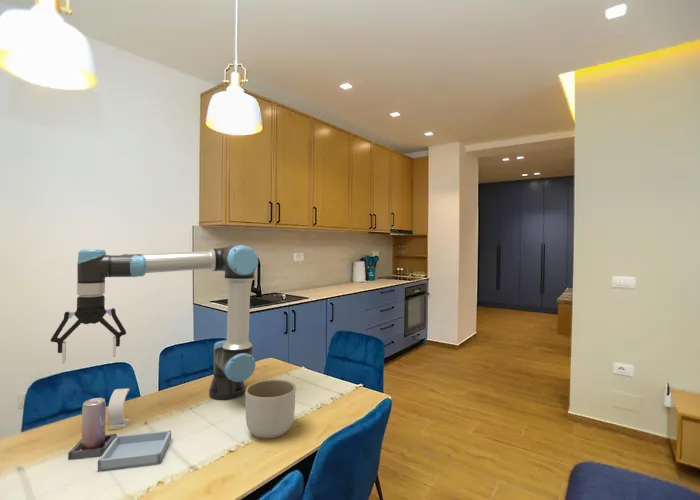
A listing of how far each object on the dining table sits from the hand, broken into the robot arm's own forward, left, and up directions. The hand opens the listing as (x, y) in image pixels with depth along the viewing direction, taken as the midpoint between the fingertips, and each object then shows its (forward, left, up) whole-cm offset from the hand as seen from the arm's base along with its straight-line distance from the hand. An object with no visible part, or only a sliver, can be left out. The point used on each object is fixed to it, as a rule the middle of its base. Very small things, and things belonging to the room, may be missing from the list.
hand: (89, 359), depth 119 cm
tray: (-19, +14, -26) cm, 35 cm away
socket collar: (-5, +8, -26) cm, 28 cm away
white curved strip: (-7, -7, -26) cm, 28 cm away
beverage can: (-5, +8, -26) cm, 28 cm away
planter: (-59, +9, -26) cm, 65 cm away
